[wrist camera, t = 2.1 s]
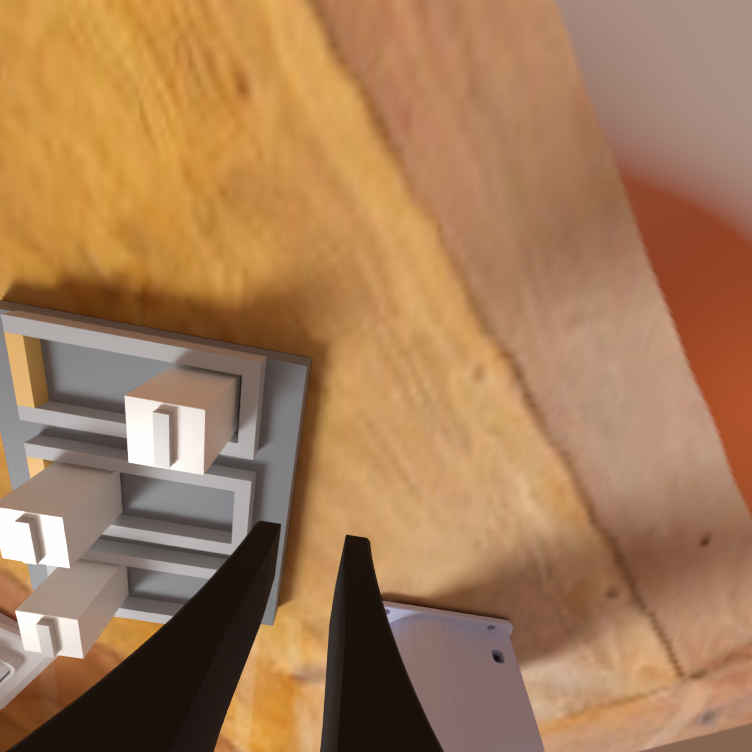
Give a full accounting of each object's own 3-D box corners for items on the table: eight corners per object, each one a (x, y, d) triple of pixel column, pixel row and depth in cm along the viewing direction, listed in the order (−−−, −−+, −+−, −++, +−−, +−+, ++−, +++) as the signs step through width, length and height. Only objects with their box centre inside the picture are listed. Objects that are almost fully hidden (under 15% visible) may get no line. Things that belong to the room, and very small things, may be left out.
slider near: (240, 374, 17) (201, 413, 14) (237, 429, 18) (200, 479, 15) (176, 362, 17) (119, 398, 14) (176, 419, 18) (123, 466, 15)
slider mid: (119, 467, 19) (56, 522, 16) (122, 511, 21) (64, 573, 17) (61, 457, 19) (-17, 511, 16) (67, 502, 20) (-4, 563, 17)
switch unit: (311, 356, 18) (303, 370, 17) (277, 609, 25) (269, 639, 23) (0, 297, 18) (-45, 305, 16) (49, 573, 24) (21, 602, 22)
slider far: (126, 558, 22) (72, 625, 18) (128, 594, 23) (79, 664, 19) (73, 550, 22) (9, 616, 18) (79, 586, 23) (19, 656, 19)
